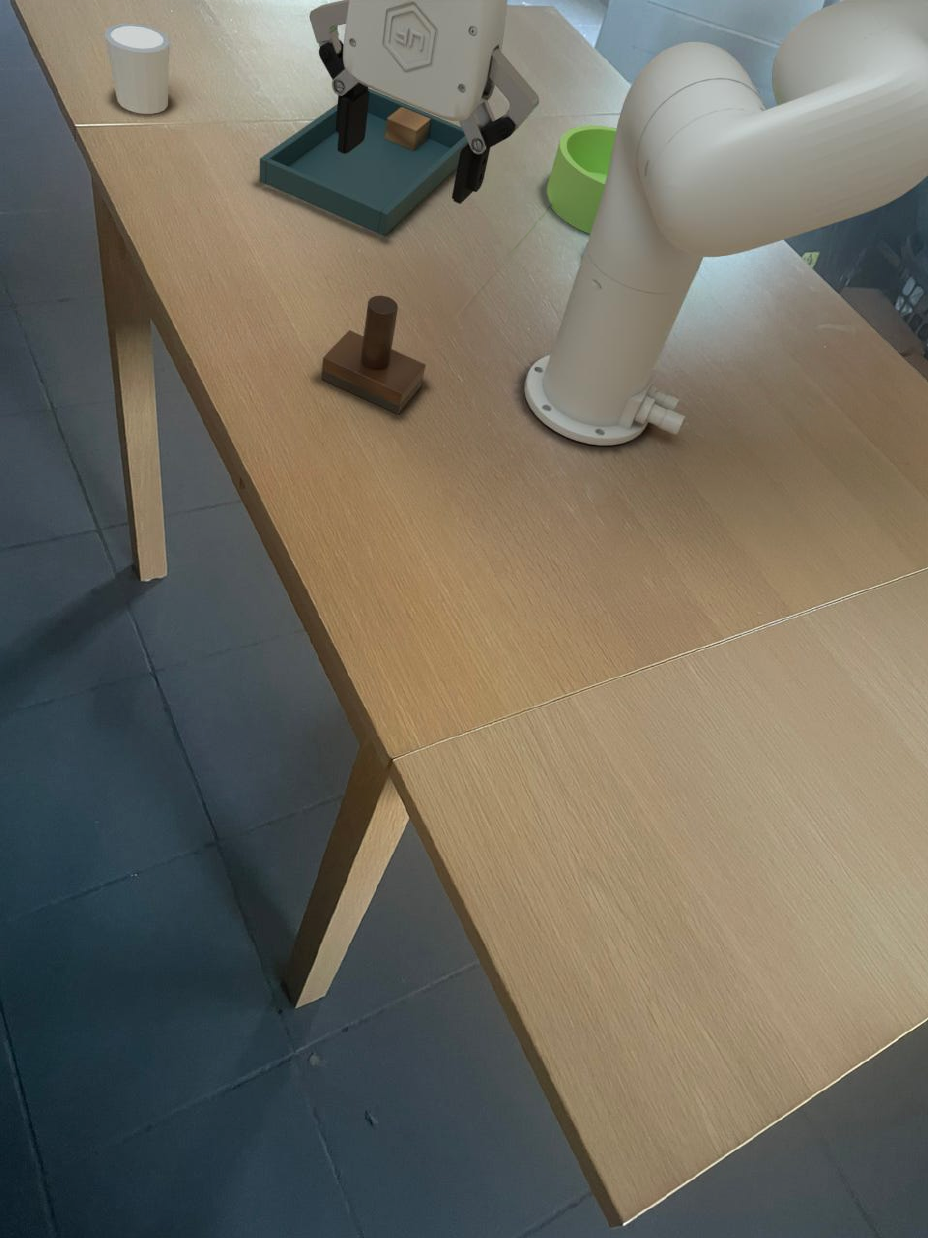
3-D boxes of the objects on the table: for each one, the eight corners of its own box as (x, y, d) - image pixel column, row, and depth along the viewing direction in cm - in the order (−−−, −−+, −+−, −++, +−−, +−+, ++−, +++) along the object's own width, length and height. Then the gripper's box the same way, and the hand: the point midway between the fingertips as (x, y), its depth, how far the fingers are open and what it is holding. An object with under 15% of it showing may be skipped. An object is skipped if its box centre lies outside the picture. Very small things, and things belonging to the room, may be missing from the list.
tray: (471, 157, 114) (476, 133, 112) (384, 239, 100) (387, 214, 97) (360, 110, 116) (362, 85, 113) (259, 184, 101) (259, 157, 99)
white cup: (105, 86, 107) (97, 21, 102) (165, 86, 110) (160, 22, 105) (119, 117, 104) (112, 50, 99) (180, 115, 107) (177, 51, 101)
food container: (536, 167, 116) (564, 61, 106) (644, 181, 119) (680, 79, 109) (575, 287, 101) (611, 178, 92) (696, 299, 105) (743, 194, 95)
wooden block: (427, 138, 114) (430, 118, 112) (413, 151, 111) (416, 130, 109) (398, 126, 114) (401, 106, 112) (384, 138, 112) (386, 117, 110)
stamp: (421, 385, 87) (436, 308, 80) (398, 414, 84) (411, 337, 77) (346, 351, 88) (355, 272, 81) (320, 379, 85) (327, 299, 78)
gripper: (291, -138, 55) (281, 146, 69) (552, -34, 53) (489, 236, 67) (351, -159, 60) (331, 110, 73) (593, -65, 58) (527, 194, 71)
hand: (406, 170), depth 70 cm, fingers open, 9 cm apart
